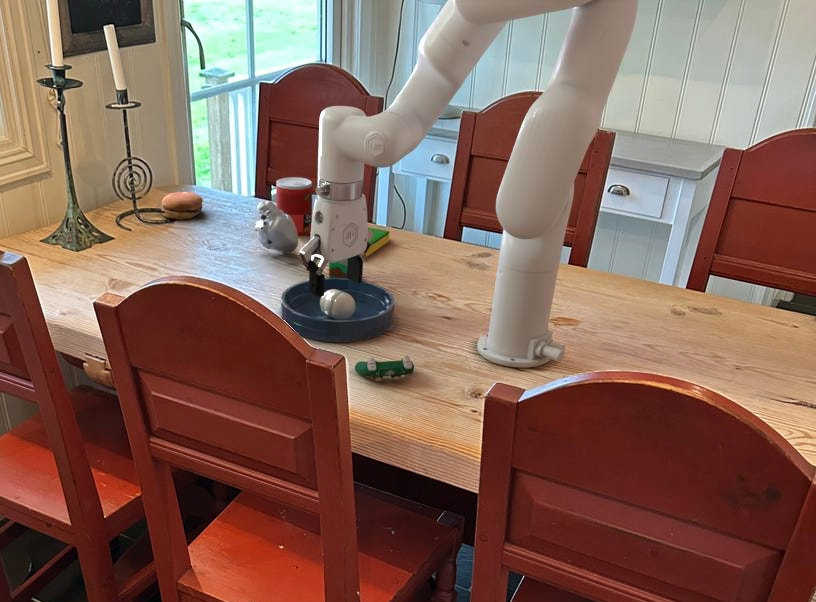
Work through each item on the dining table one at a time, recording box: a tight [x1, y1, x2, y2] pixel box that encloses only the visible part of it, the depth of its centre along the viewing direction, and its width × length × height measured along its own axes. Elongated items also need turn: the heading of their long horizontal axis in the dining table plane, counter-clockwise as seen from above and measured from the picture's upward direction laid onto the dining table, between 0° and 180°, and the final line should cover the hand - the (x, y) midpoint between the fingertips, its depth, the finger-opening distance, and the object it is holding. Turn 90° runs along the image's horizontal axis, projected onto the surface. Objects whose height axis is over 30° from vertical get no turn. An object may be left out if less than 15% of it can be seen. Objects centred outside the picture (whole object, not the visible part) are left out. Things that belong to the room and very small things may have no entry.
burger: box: [160, 190, 204, 221], centre depth 200 cm, size 10×9×5 cm
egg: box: [320, 289, 356, 321], centre depth 151 cm, size 7×5×5 cm
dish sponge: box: [366, 226, 390, 258], centre depth 184 cm, size 7×14×2 cm, turn 153°
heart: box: [254, 200, 299, 254], centre depth 176 cm, size 10×10×12 cm
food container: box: [328, 259, 348, 278], centre depth 165 cm, size 12×6×10 cm, turn 168°
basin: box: [280, 277, 396, 343], centre depth 151 cm, size 20×20×4 cm
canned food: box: [275, 176, 313, 237], centre depth 190 cm, size 8×8×11 cm
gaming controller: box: [354, 355, 415, 382], centre depth 133 cm, size 9×4×6 cm
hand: (335, 287), depth 149 cm, fingers open, 9 cm apart
